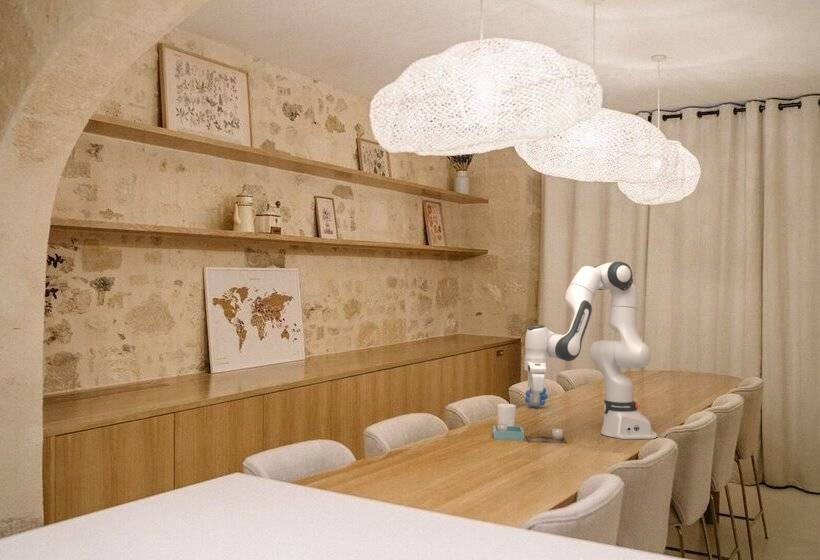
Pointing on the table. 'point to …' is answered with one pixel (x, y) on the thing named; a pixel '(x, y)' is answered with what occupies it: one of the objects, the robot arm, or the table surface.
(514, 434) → the teal square bin
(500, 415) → the white cup
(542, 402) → the grapes
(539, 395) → the pebble
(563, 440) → the tray
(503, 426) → the pebble
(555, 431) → the pebble
